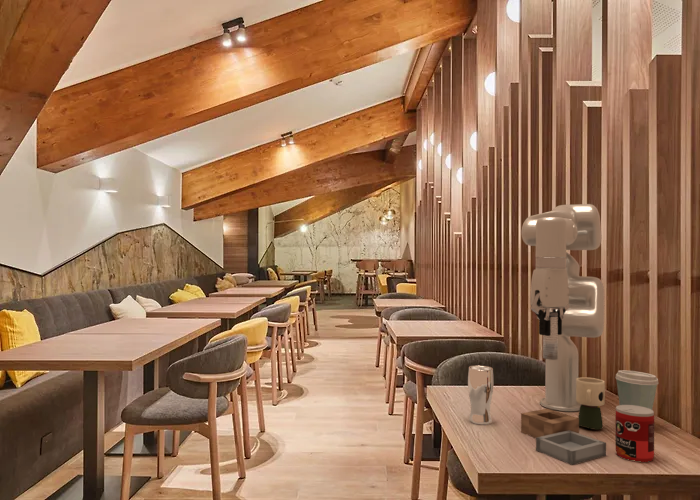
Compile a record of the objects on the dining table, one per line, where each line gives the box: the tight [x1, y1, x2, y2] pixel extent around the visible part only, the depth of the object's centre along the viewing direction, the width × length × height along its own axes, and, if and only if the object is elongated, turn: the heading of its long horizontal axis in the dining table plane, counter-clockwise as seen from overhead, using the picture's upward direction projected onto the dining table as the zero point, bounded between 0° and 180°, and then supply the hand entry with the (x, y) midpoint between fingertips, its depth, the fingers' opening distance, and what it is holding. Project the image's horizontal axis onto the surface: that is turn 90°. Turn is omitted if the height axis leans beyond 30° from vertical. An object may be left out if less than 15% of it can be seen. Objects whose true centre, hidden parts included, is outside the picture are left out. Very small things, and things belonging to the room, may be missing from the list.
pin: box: [542, 311, 558, 360], centre depth 137 cm, size 4×4×12 cm
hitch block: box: [520, 408, 580, 439], centre depth 136 cm, size 10×10×5 cm
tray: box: [535, 430, 607, 466], centre depth 124 cm, size 12×10×3 cm
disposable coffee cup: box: [615, 369, 659, 410], centre depth 145 cm, size 11×11×15 cm
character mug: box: [576, 376, 606, 430], centre depth 143 cm, size 11×7×13 cm, turn 150°
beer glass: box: [467, 365, 494, 426], centre depth 147 cm, size 7×7×15 cm
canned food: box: [614, 404, 655, 463], centre depth 122 cm, size 8×8×11 cm
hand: (550, 333), depth 137 cm, fingers closed on pin, 3 cm apart
